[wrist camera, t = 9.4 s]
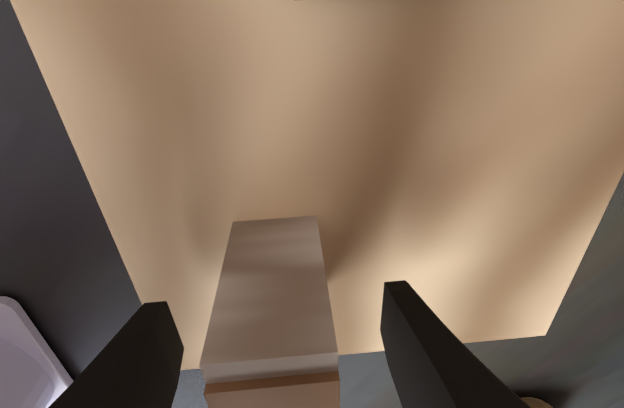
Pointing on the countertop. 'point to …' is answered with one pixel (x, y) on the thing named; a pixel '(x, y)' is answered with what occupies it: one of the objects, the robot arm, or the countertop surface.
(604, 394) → the countertop surface
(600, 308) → the countertop surface
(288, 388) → the tan wooden block
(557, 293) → the board
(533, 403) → the pastry
